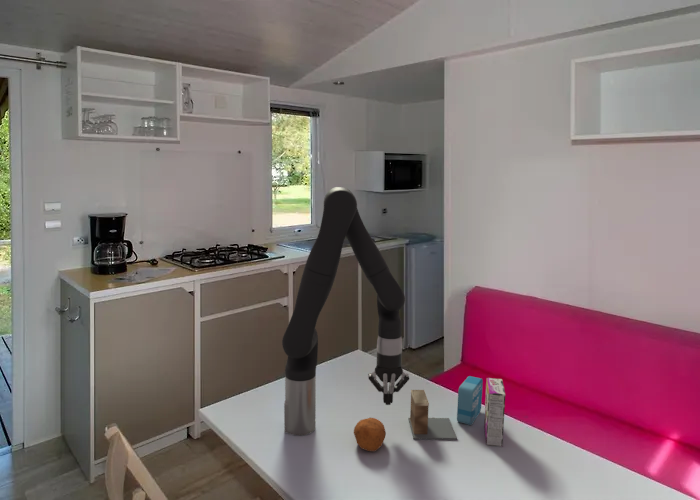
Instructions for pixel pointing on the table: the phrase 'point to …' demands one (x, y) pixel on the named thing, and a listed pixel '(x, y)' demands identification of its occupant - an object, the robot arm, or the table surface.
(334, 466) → the table surface
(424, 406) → the slab
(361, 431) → the potato
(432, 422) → the mat
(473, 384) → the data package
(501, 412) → the candy bar box
